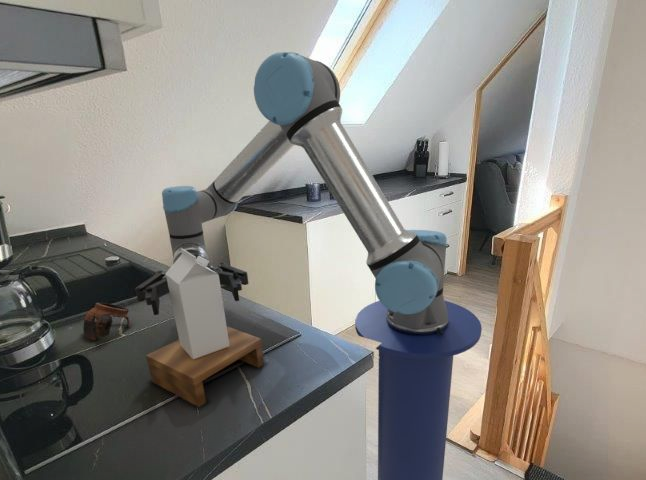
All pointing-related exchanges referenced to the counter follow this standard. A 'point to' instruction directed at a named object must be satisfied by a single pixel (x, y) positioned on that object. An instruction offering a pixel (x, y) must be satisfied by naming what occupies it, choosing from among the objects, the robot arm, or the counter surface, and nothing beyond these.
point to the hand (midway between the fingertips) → (196, 300)
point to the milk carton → (197, 305)
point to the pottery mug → (102, 319)
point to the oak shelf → (200, 364)
